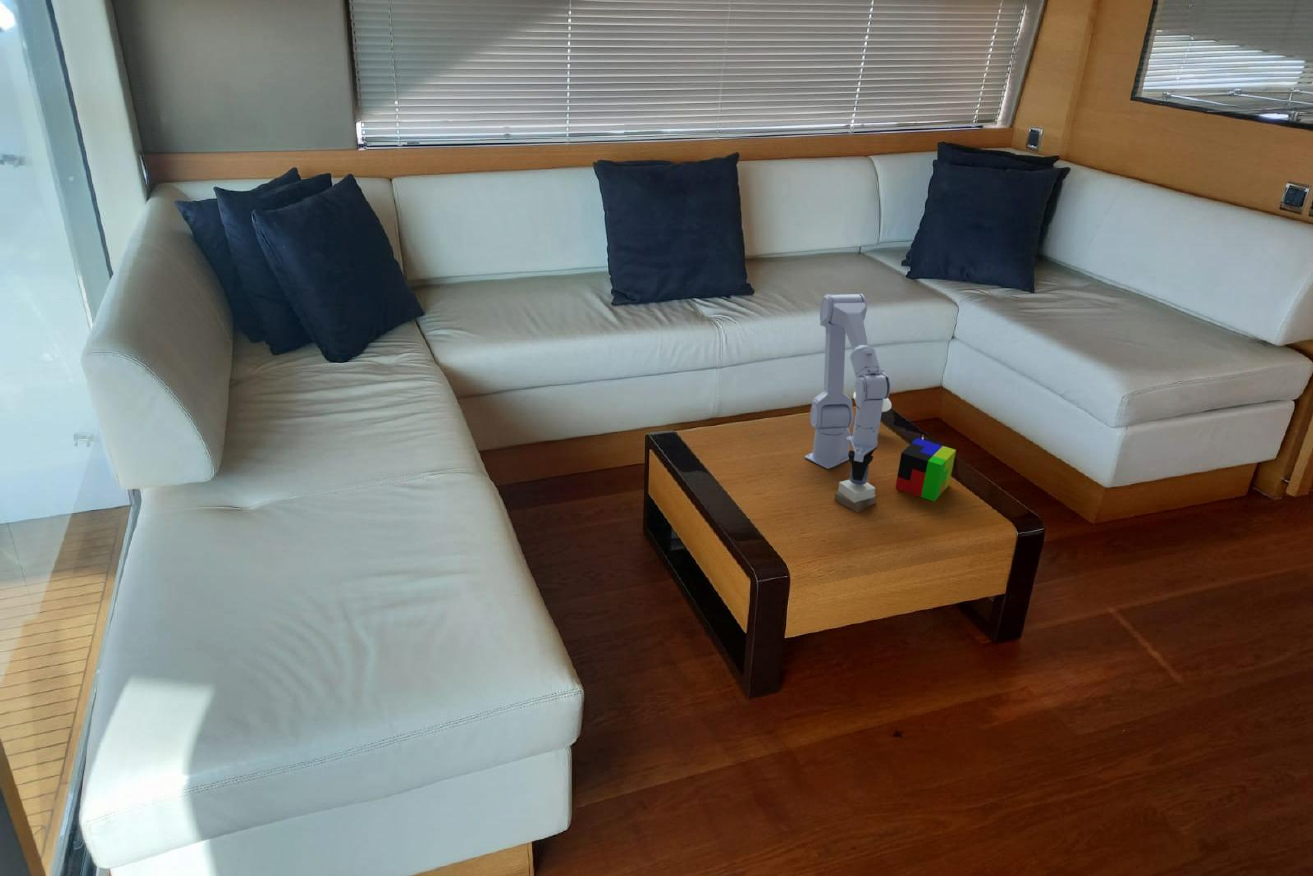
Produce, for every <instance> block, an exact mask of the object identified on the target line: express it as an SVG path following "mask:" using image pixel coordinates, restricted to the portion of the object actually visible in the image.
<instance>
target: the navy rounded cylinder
mask: <svg viewBox="0 0 1313 876" xmlns="http://www.w3.org/2000/svg"><path fill="white" fill-rule="evenodd" d="M869 469H870V464H869V465H868V466H867V468H866V471H865V474H864V477H863V479H862V481H859V480H854V479H853V476H852V466H851V467H850V475H849V479H850V482H852V483H854V484H857V485H863V484H866V483H868V482H867V481H868V475H869Z"/></svg>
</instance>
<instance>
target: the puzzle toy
mask: <svg viewBox="0 0 1313 876" xmlns="http://www.w3.org/2000/svg"><path fill="white" fill-rule="evenodd" d="M956 451H957V450H956V449H954V448H951V447H948V446H944V445H940V444H937V443H934V442H931V441H928V440H924V439H921V438H915V440H913V441H912V442H911V443H910V444H909V445H908V446H907V447H906V448H905V449H903V451H902V452H901V453H900V459H899V466H898V470H897V475H896V476H897V477H896V483H895V488H894V489H896V490H899V491H903V492H905V493H909V494H911V495H913V496H918V497H920V498H924V499H927V500H929V501H932V502H936V500H937V499H938V498H939V497H940V496H941V495H942V494H943V493H944V491H945V490H946V489H947V488H948V487H949V485H950V481H951V477H952V471H953V467H954V463H955V462H954V461H955V457H956V454H957V453H956Z"/></svg>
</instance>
